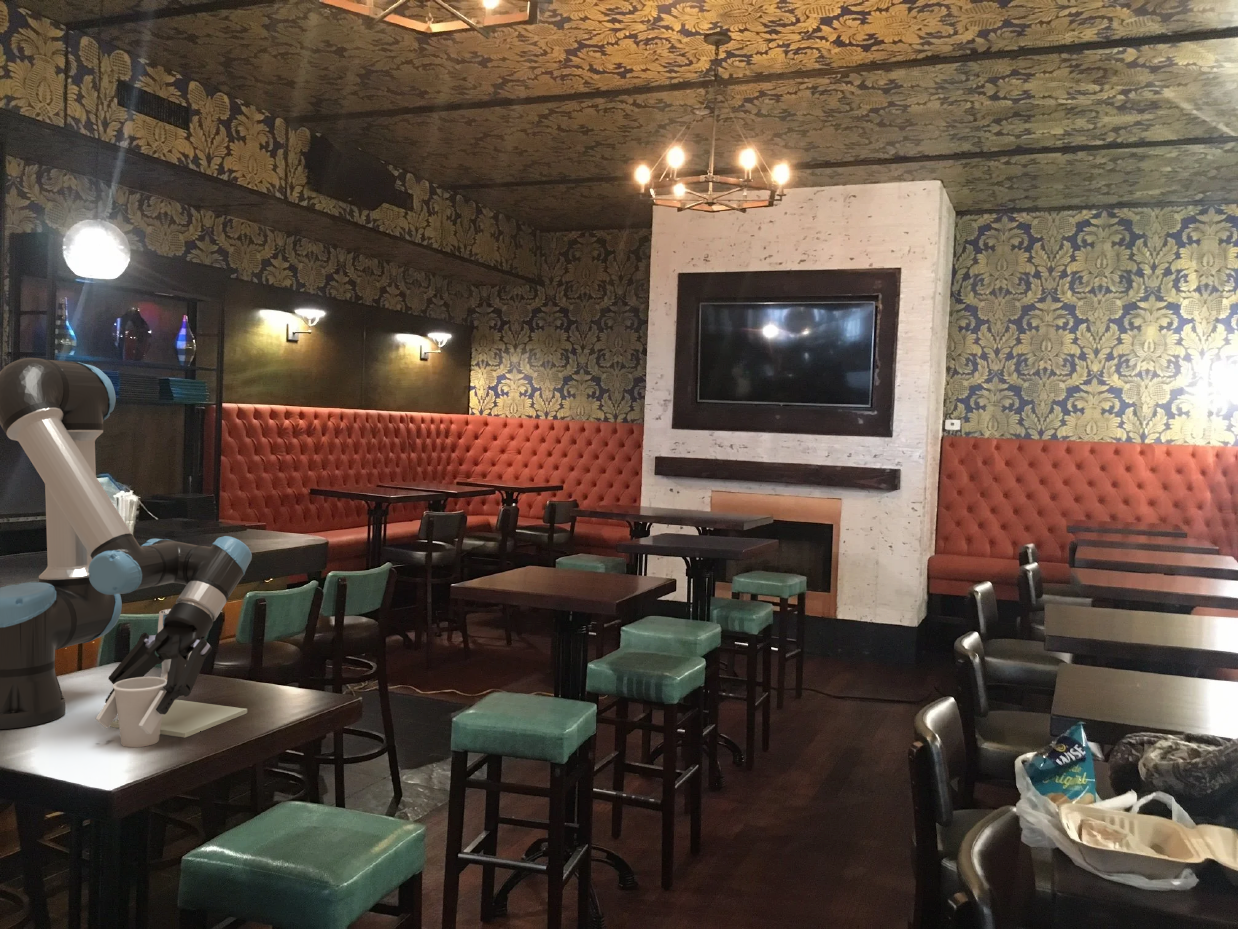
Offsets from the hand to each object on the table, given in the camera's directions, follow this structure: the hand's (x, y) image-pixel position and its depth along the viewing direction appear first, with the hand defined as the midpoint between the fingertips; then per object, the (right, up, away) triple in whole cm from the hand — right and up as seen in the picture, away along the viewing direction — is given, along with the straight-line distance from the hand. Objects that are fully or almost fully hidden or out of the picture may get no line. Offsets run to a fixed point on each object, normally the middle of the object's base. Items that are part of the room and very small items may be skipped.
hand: (123, 726), depth 162 cm
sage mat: (+2, -3, +17) cm, 17 cm away
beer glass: (-10, -2, +41) cm, 43 cm away
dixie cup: (+1, -4, +4) cm, 5 cm away
